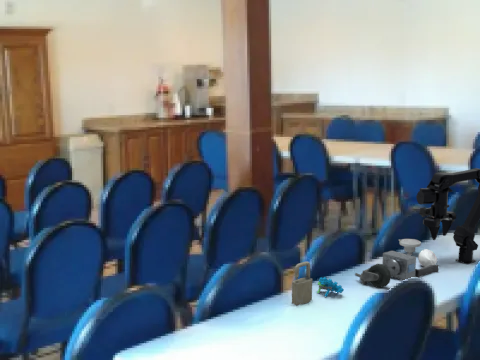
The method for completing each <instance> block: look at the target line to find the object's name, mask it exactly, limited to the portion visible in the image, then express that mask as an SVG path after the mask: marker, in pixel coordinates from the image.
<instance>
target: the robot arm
mask: <svg viewBox="0 0 480 360" xmlns="http://www.w3.org/2000/svg"><path fill="white" fill-rule="evenodd" d="M472 180H475V181H476V182H477V183H478V187H477V192H478V193H477V197H476V198H475V201H474V202H473V205H471V206H472V207H471V209H470V211H469V213H468V215H467V217H466V218H465V221H464V223H463V224H461V225H457V226H456V227H455V230H454V232H453V236H452V238H453V242H454V243H455V245H456V246H457V247H459V249H458V258H456V259H455V262H458V263H462V264H466V265H469V264H472V263H475V262H476V261H477V260H476V259H474V252H475V251H477V250H478V247H479V244H478V243H477V242H476V241H475V237H476V232H475V231H476V227H477V225H478V223H479V220H480V168H479V167H478V168H477V167H475V168H471V169H468V170H461V171H456V172H435V173H433V176H432V178H431V180H430V181H429V182H428V184H427V186H426V187H425V188H423V187H422V188H421V187H420V188H419V191H417V193H416V196H415V197H416V202H417V203H418V204H419V205H422V206H423V205H429V204H430V207H426V206H425V207H420V209H419V213H418V214H419V215H420V216H421V217H422V218H423V220H422V224H423V226H425V227H427V228H428V229H429V233H430V235H431V239H432V241H435V240H436V239H437V236H438V234H439V231H440V229H441V228H442V236H444V237H446V236H447V235H448V232H449V230H450V229H451V227H452V225H453V223H454V222H455V220H456V219H457V214H456V212H455V211H450V210H448V208H450V204H448V200H449V197H448V196H449V193H452V192H453V189H452V188H450V187H452V186H453V185H455V184H456V183H461V182H467V181H472ZM440 224H441V225H440ZM440 227H441V228H440Z"/></svg>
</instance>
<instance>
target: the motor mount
mask: <svg viewBox="0 0 480 360" xmlns="http://www.w3.org/2000/svg"><path fill="white" fill-rule="evenodd" d="M416 263H417V257H416V256H413V255H412V256H410V255H407V253H402V252H398V251H395V250H389V251H385V252H382V264H383V265H385V266H386V267H387V268H388V269H389V271H390V273H391V278H394V279H397V280H400V281H403V280H405V279H408V278H411V277H415V278H421V277H424V276H427V275H429V274H433V273H439V264H435V265H429V266H426V267H424V266H422V267H420V268H417V267H416V266H417V264H416Z"/></svg>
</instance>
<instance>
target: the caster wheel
mask: <svg viewBox="0 0 480 360" xmlns="http://www.w3.org/2000/svg"><path fill="white" fill-rule="evenodd" d="M354 276H355V277H359V281H361V285H364V286H365V285H366V284H369V283H370V284H371V285H372V286H374V287H375V288H378V289H381V288H385V287H386V286H388V285H389V284H390V281H391V279H392V277H391V273H390V271H389V269H388V268H387V267H386V266H385V265H383V263H376V264H373V265H371V266H370V267H368V268H367V269H365V270H362V273H357V272H355V273H354Z"/></svg>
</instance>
